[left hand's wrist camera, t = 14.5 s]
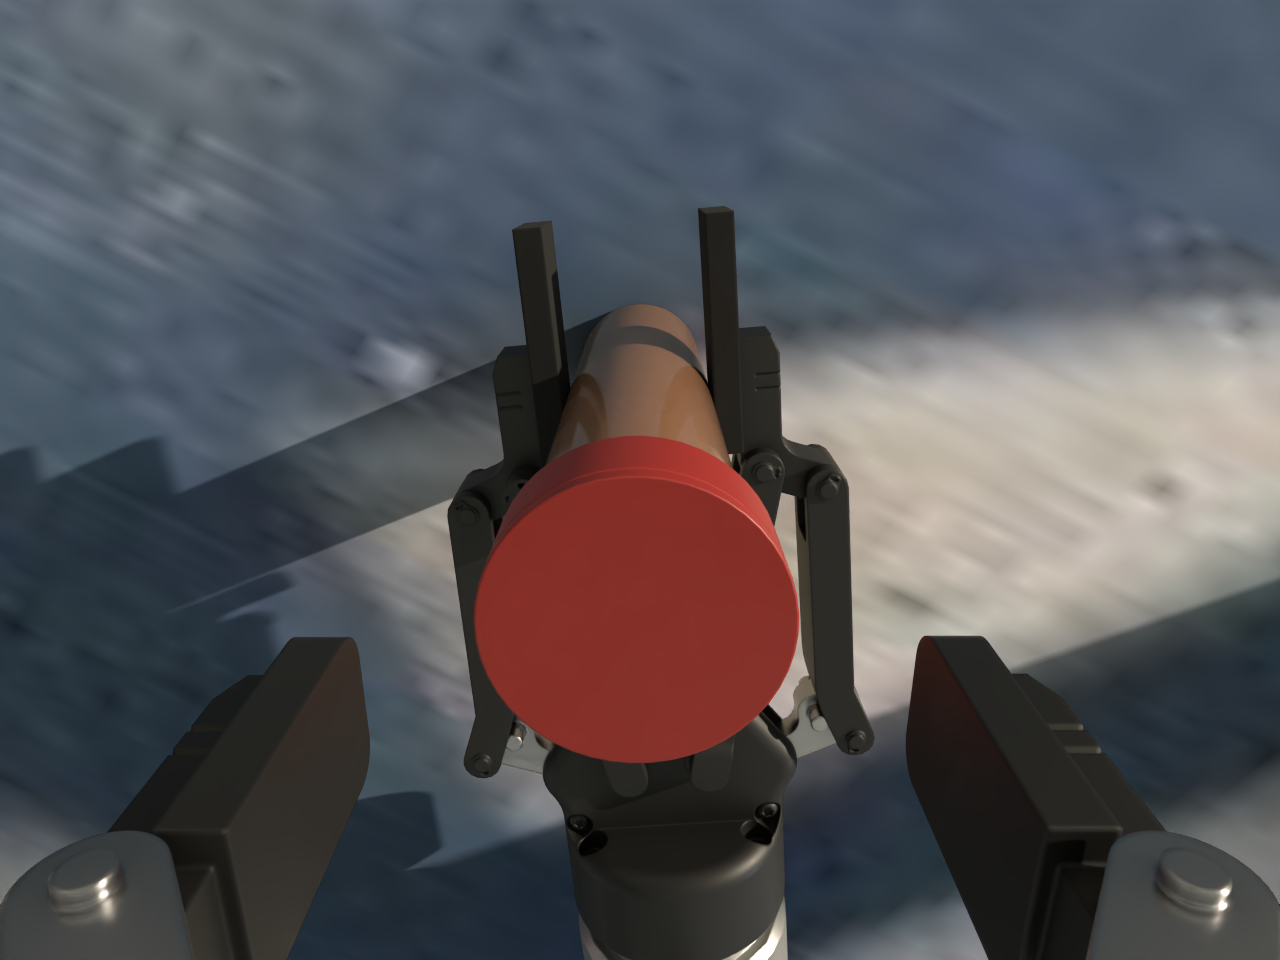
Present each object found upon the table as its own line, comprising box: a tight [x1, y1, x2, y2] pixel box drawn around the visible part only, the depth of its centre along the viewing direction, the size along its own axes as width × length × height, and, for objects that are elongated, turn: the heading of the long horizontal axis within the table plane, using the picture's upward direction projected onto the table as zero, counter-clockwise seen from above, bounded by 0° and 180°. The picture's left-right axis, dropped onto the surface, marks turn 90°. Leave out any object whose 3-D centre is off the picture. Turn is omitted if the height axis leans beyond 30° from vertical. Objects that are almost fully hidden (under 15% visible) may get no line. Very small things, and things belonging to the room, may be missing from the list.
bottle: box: [545, 304, 733, 469], centre depth 23 cm, size 4×4×19 cm
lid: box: [474, 436, 799, 763], centre depth 14 cm, size 5×5×2 cm
